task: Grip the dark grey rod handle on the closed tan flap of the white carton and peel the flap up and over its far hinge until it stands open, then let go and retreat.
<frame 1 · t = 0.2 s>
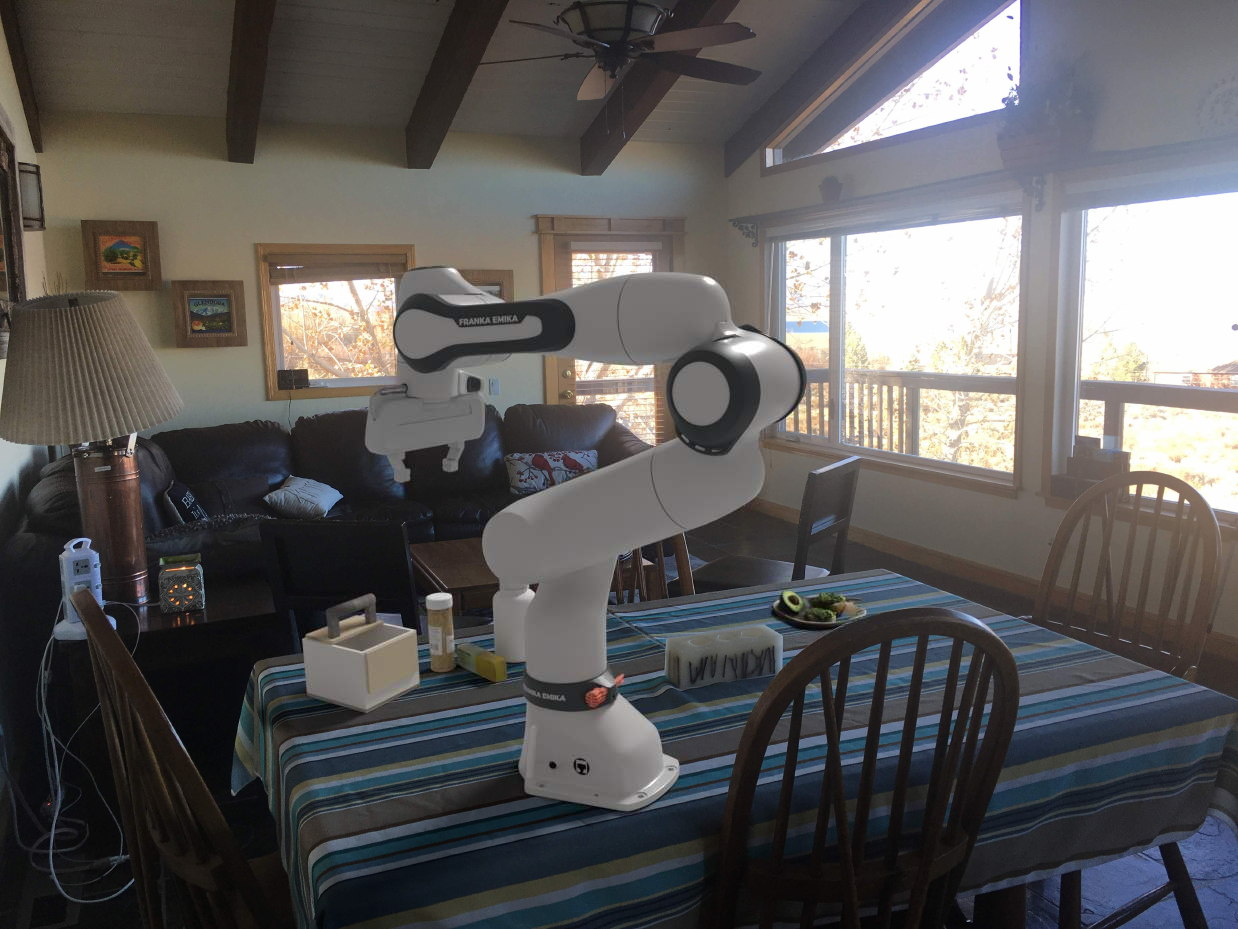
hand: (426, 475, 135), 39 cm above the table, tool pointing down, fingers open, 8 cm apart
carton: (364, 691, 156), on the table
pill bottle: (517, 656, 170), on the table
sprinkles bottle: (443, 669, 165), on the table
medication box: (481, 673, 163), on the table
salad plate: (815, 616, 188), on the table
flap: (344, 614, 155), point 13 cm above the table, hinge at 0.0°
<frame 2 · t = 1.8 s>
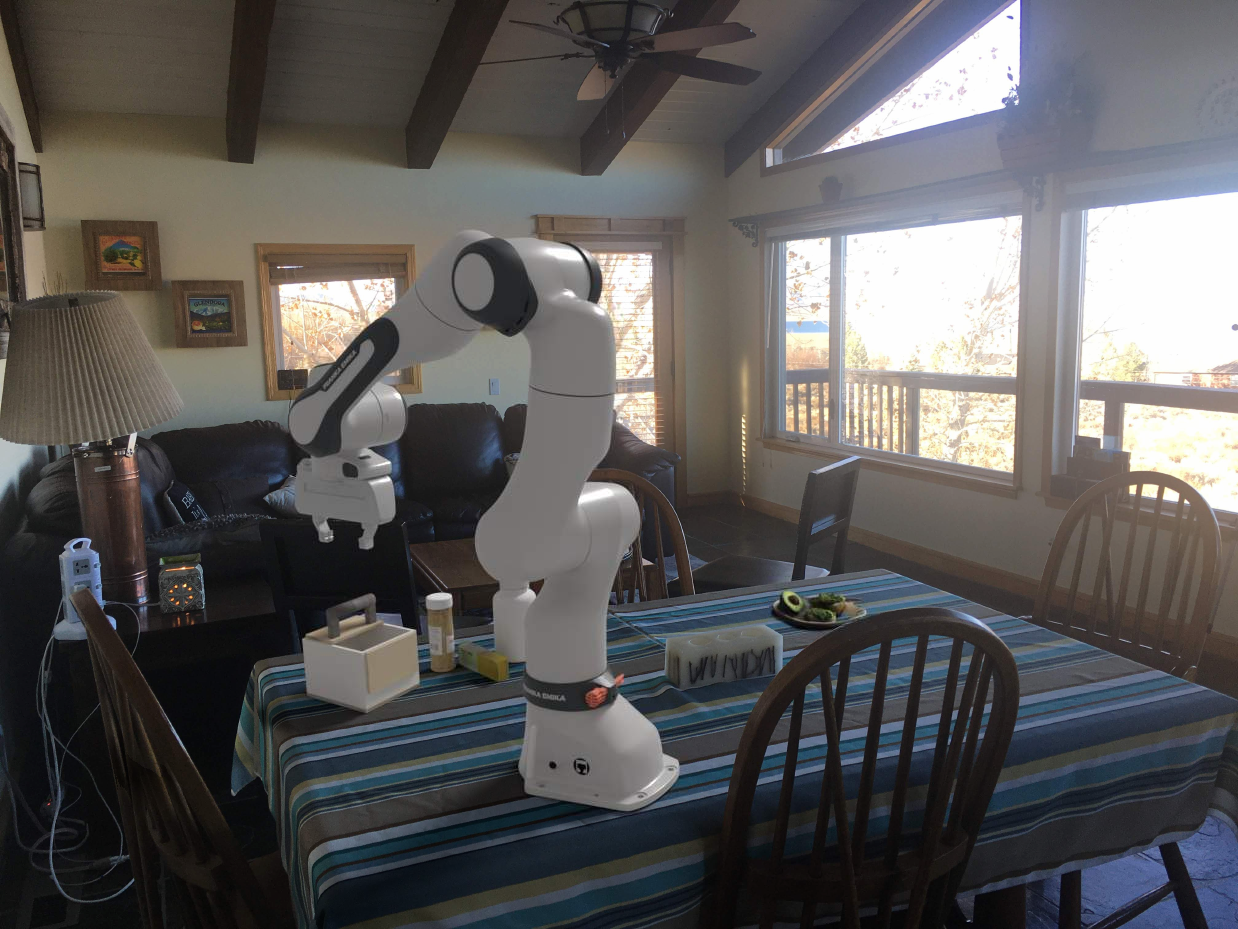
hand: (346, 544, 152), 25 cm above the table, tool pointing down, fingers open, 8 cm apart
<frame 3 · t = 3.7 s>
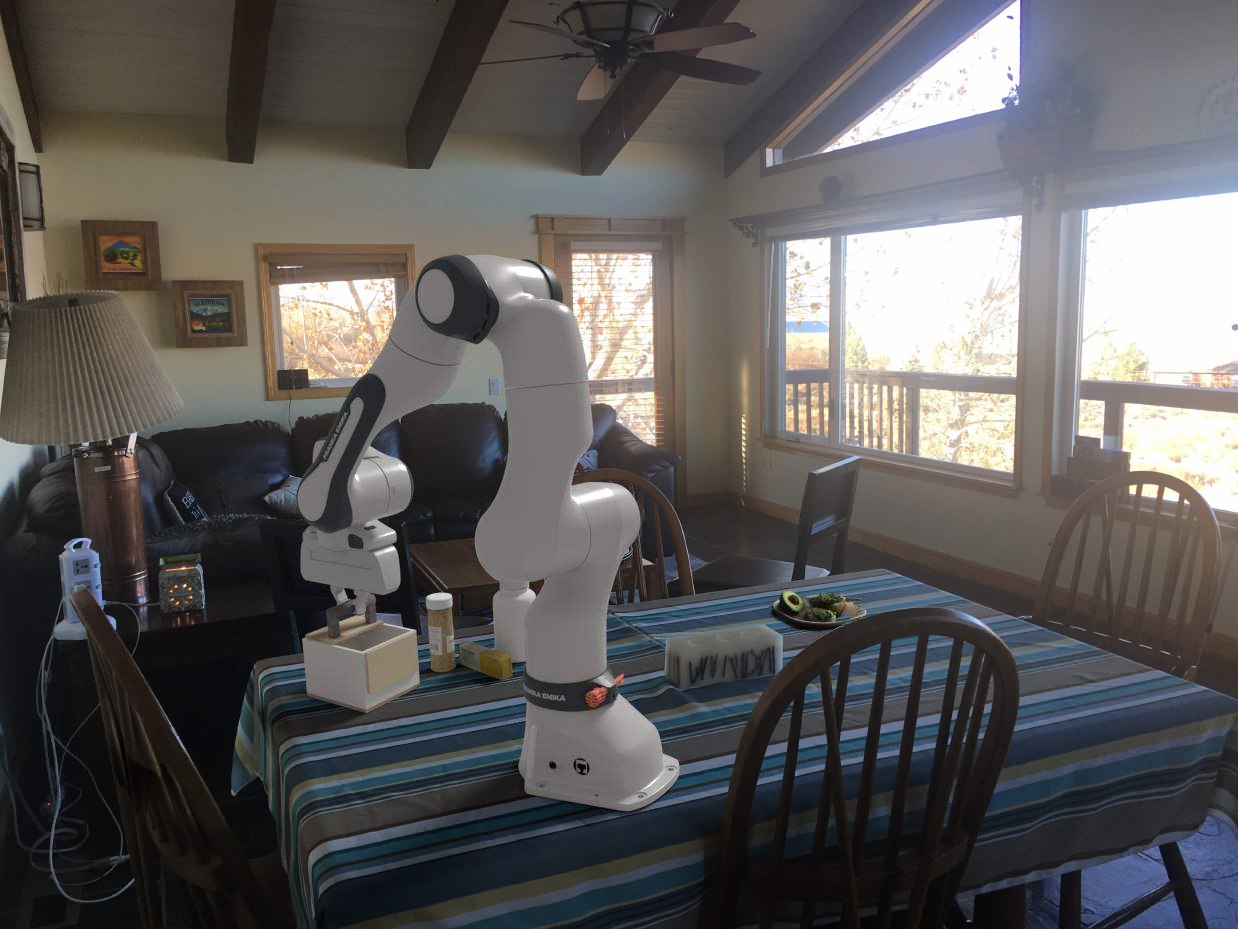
hand: (351, 611, 154), 14 cm above the table, tool pointing down, fingers closed on flap, 2 cm apart
flap: (344, 615, 155), point 13 cm above the table, hinge at -0.1°, touching gripper
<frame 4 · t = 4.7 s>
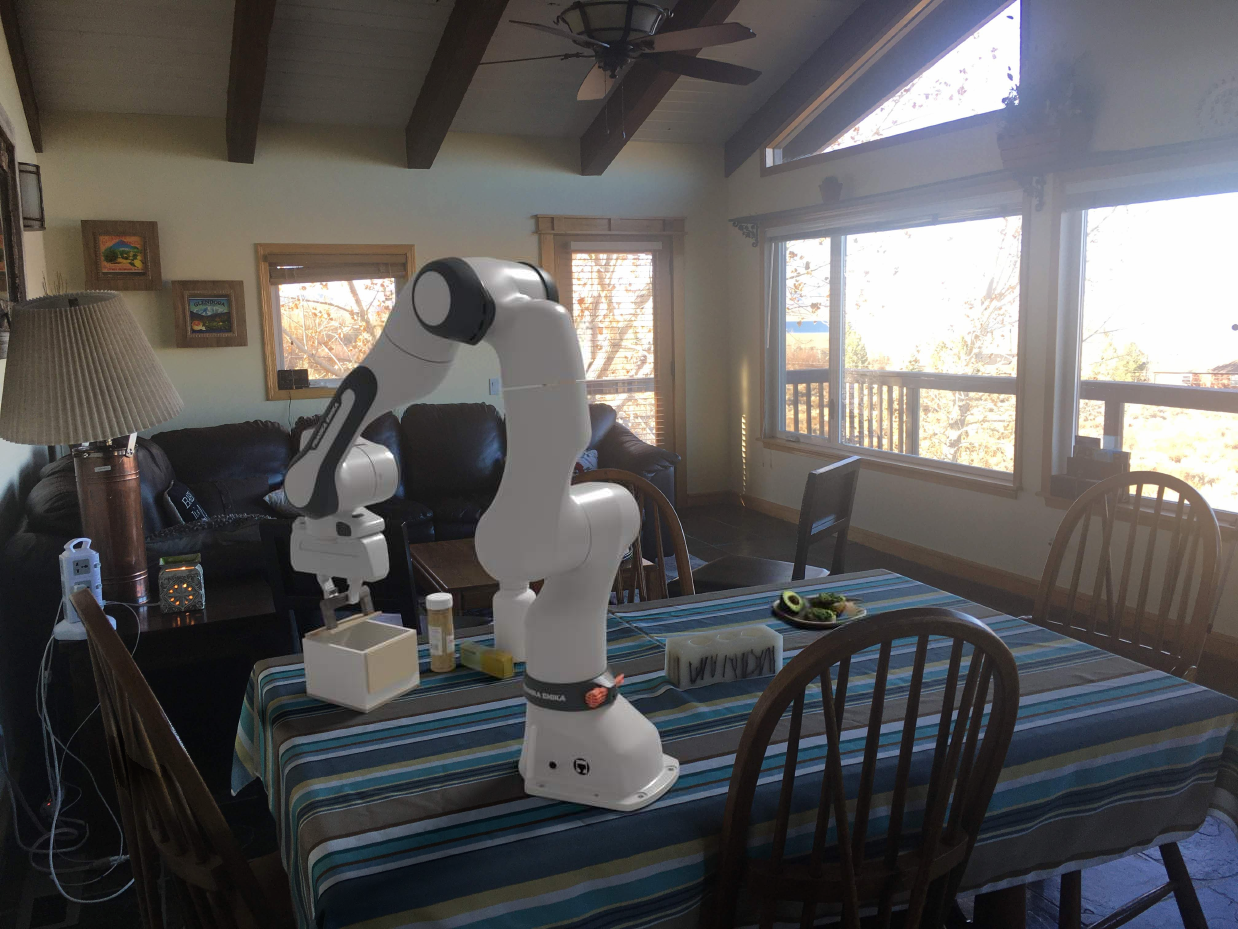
hand: (341, 600, 155), 15 cm above the table, tool pointing down, fingers open, 4 cm apart
flap: (340, 609, 156), point 14 cm above the table, hinge at 14.4°, touching gripper
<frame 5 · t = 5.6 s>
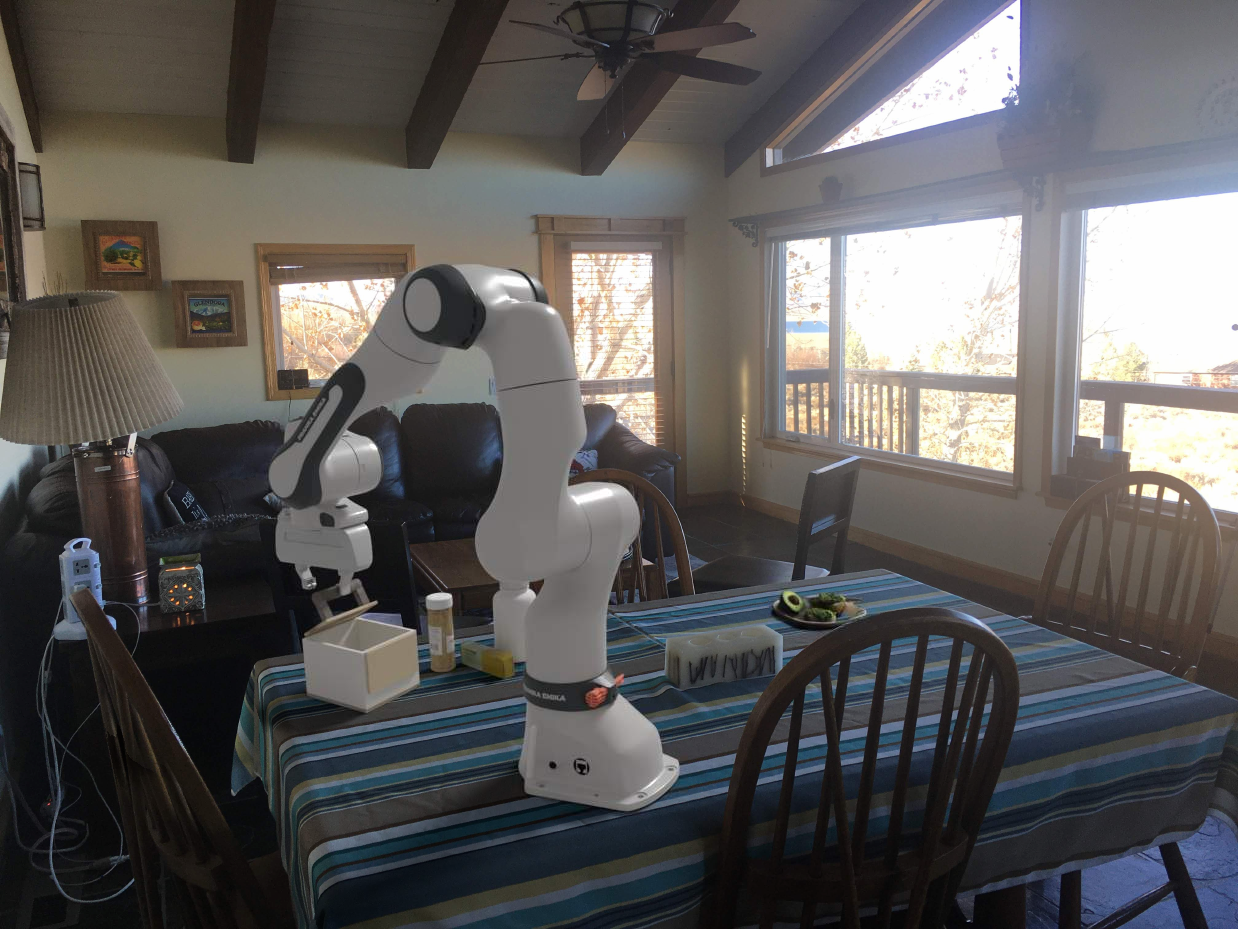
hand: (326, 591, 157), 16 cm above the table, tool pointing down, fingers open, 7 cm apart
flap: (335, 604, 156), point 14 cm above the table, hinge at 30.9°, touching gripper
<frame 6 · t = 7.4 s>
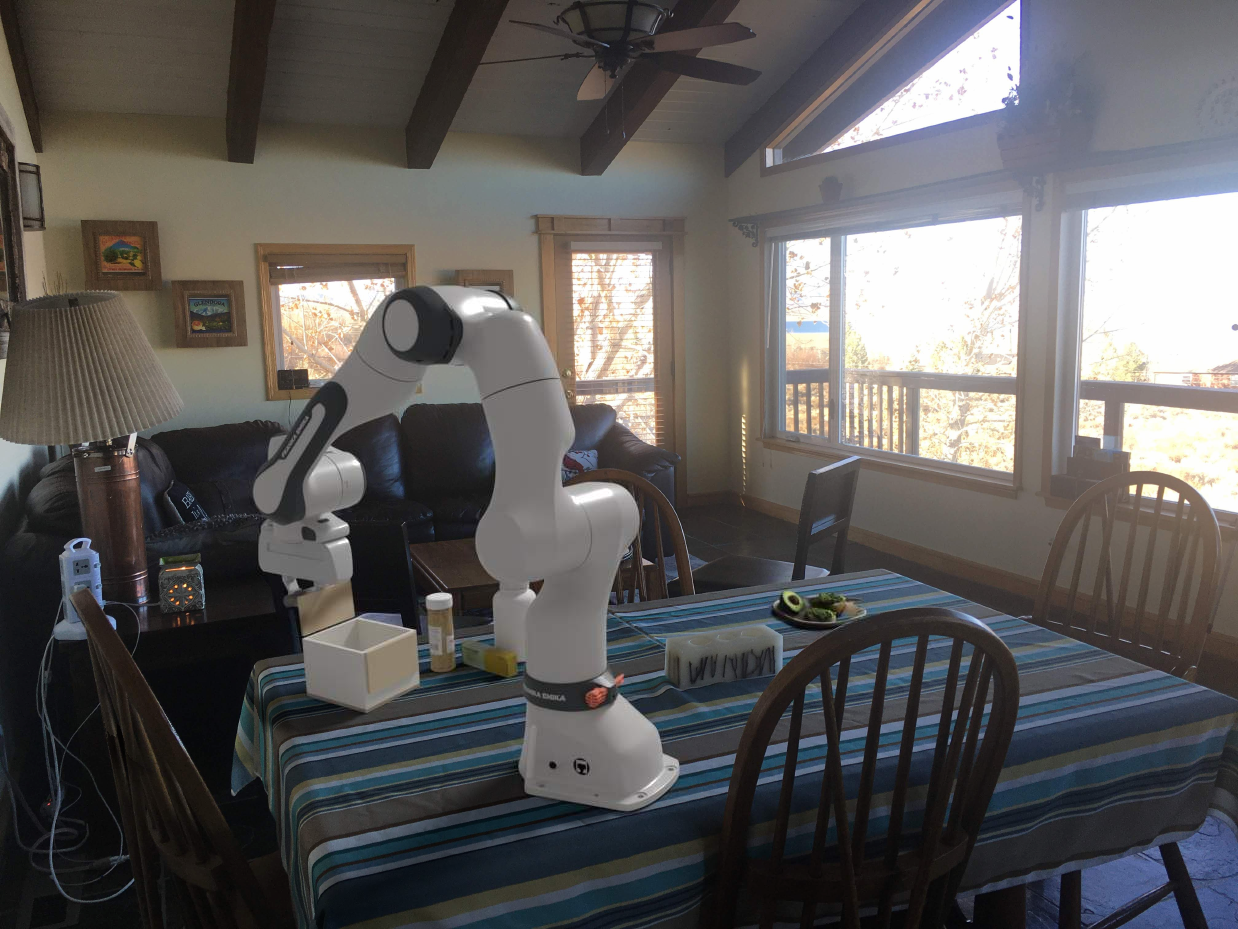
hand: (307, 601, 160), 14 cm above the table, tool pointing down, fingers open, 4 cm apart
flap: (317, 605, 159), point 13 cm above the table, hinge at 93.5°, touching gripper
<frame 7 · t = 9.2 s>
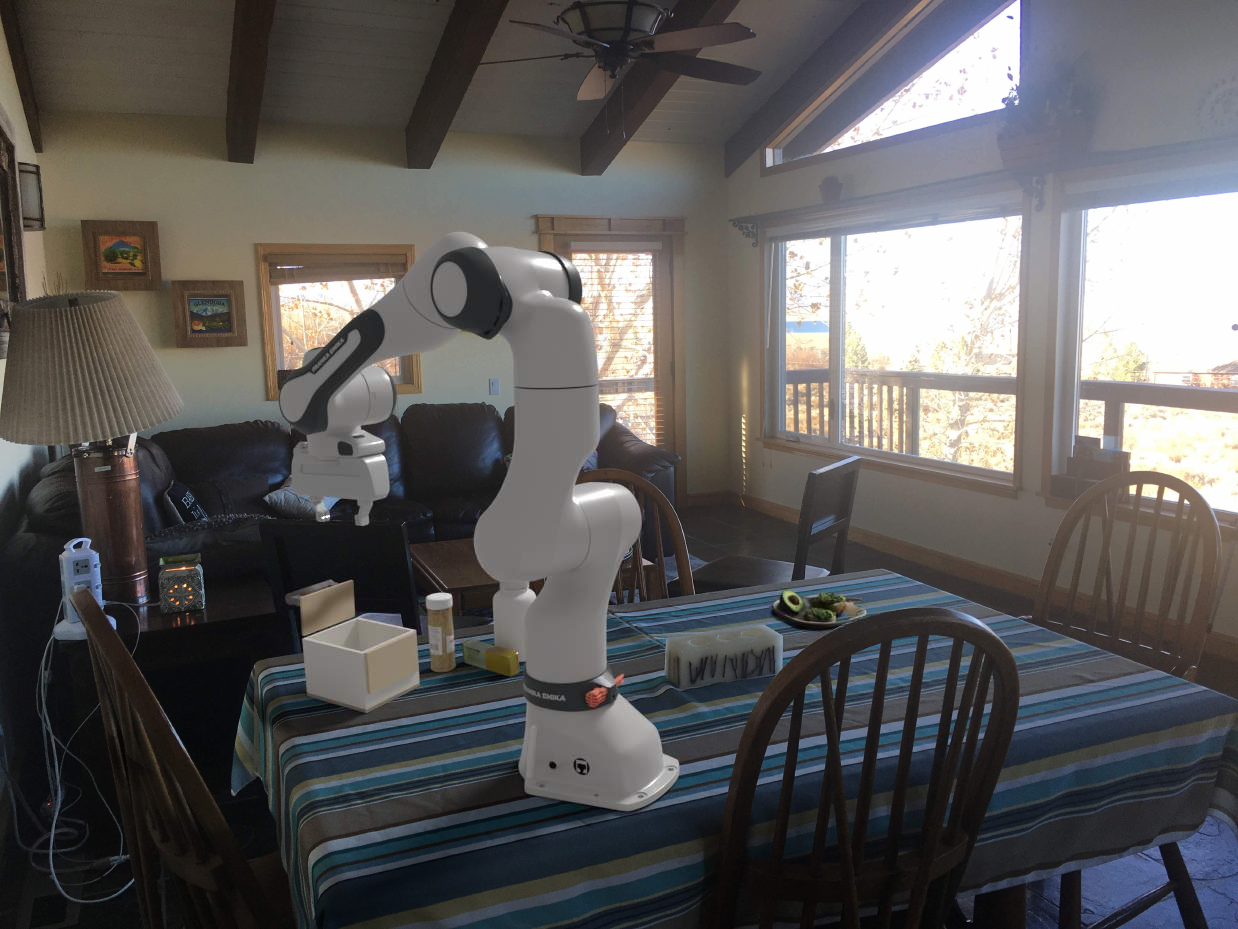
hand: (342, 523, 158), 27 cm above the table, tool pointing down, fingers open, 8 cm apart
flap: (318, 604, 159), point 14 cm above the table, hinge at 87.8°
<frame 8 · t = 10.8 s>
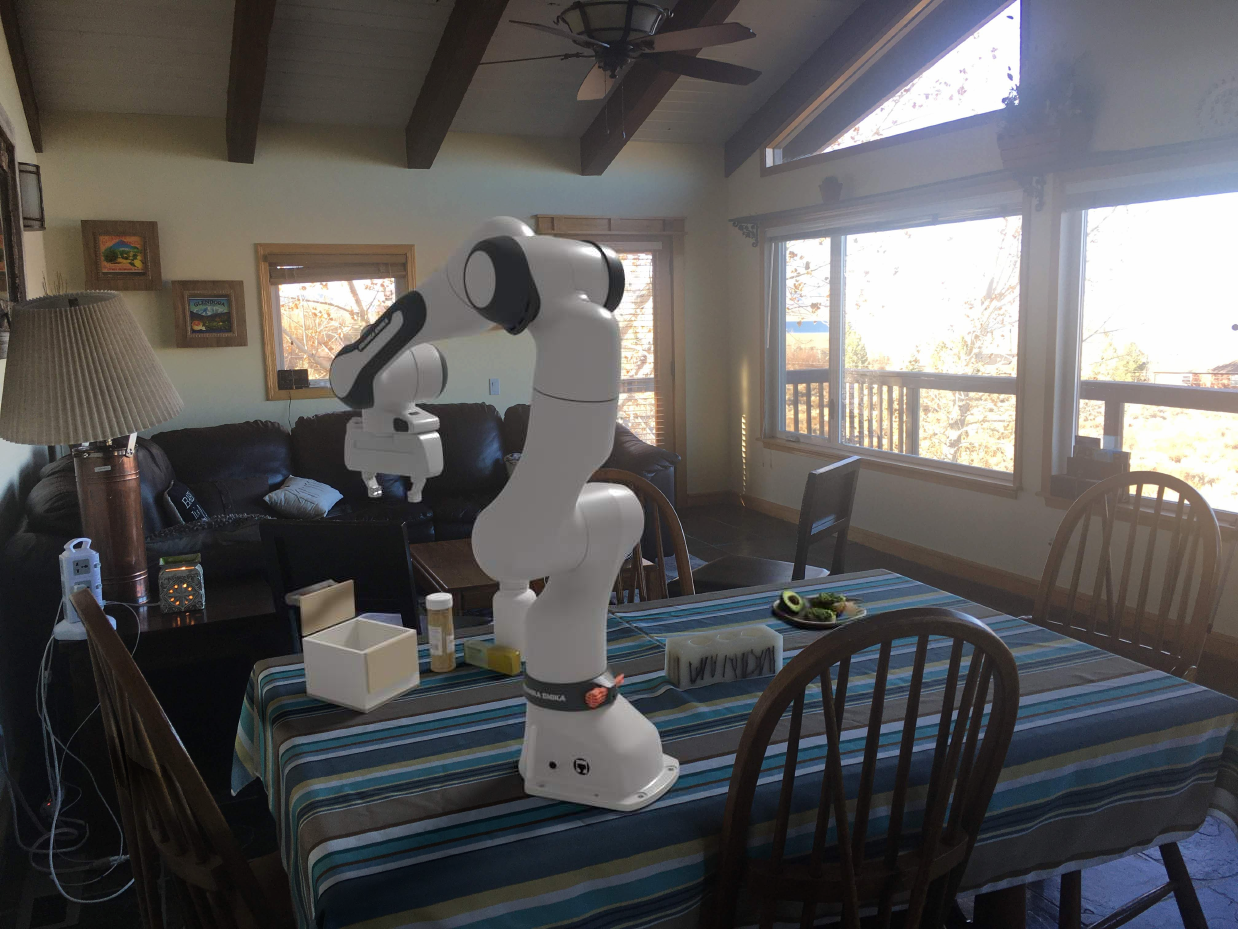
hand: (394, 499, 159), 31 cm above the table, tool pointing down, fingers open, 8 cm apart
at the end: flap at +88° (first picture: +0°); the gripper is holding nothing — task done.
